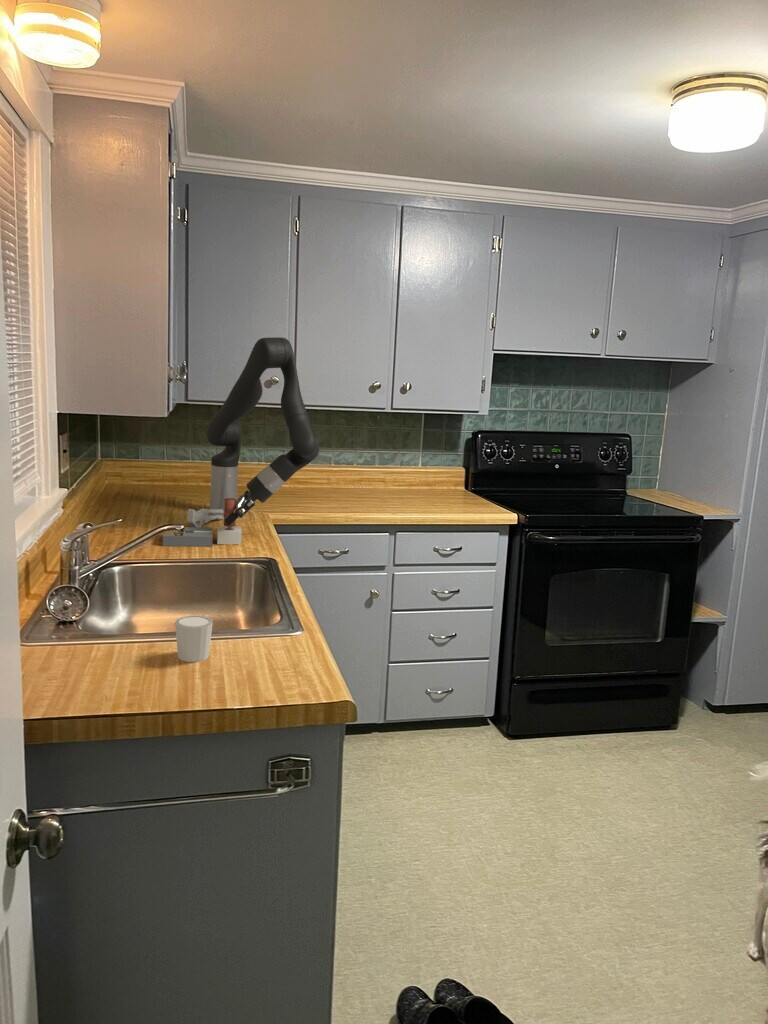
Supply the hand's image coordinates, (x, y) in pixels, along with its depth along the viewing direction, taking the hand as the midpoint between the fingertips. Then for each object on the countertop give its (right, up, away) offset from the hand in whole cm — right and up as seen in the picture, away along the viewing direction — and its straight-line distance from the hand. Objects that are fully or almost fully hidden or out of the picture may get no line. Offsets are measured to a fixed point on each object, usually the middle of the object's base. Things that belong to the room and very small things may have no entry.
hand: (225, 520), depth 231 cm
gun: (-10, -3, +18) cm, 21 cm away
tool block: (+1, -7, +2) cm, 7 cm away
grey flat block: (-11, -6, -1) cm, 13 cm away
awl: (+1, -7, +2) cm, 7 cm away
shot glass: (+11, -25, -85) cm, 90 cm away
